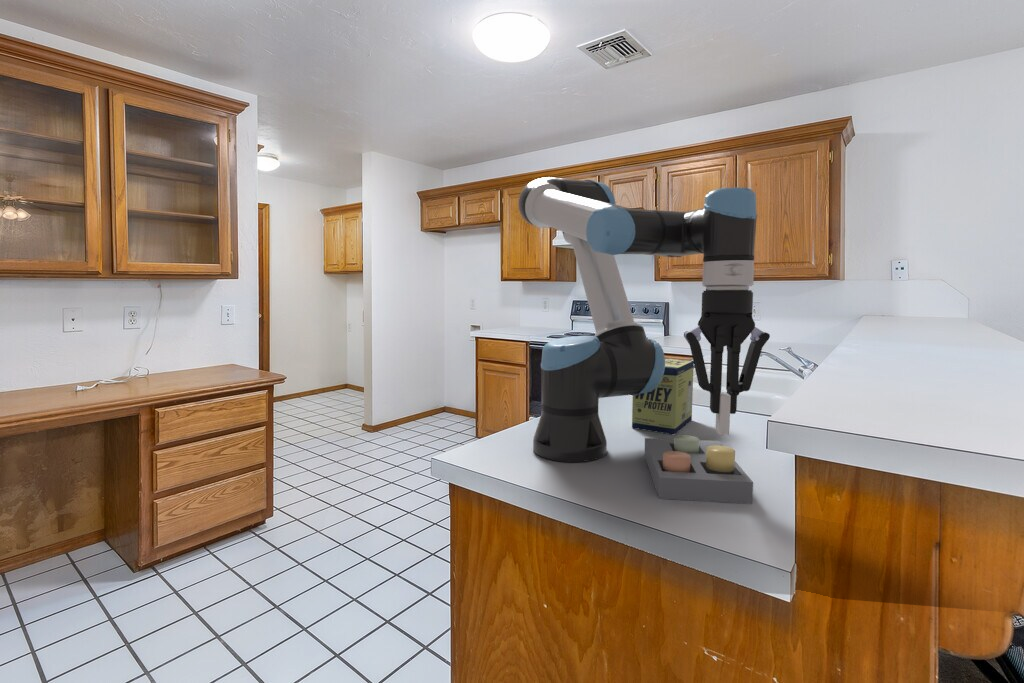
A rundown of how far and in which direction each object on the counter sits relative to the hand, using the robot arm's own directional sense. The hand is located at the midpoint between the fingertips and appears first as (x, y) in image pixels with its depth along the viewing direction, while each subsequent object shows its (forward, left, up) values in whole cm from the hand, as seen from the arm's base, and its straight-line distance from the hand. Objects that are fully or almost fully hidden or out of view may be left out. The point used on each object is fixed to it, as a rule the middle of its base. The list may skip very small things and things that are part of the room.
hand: (722, 432), depth 82 cm
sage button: (-4, +10, -8) cm, 13 cm away
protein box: (-4, +40, -10) cm, 41 cm away
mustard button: (0, 0, -6) cm, 6 cm away
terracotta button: (-7, 0, -8) cm, 10 cm away
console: (-4, +5, -10) cm, 12 cm away
